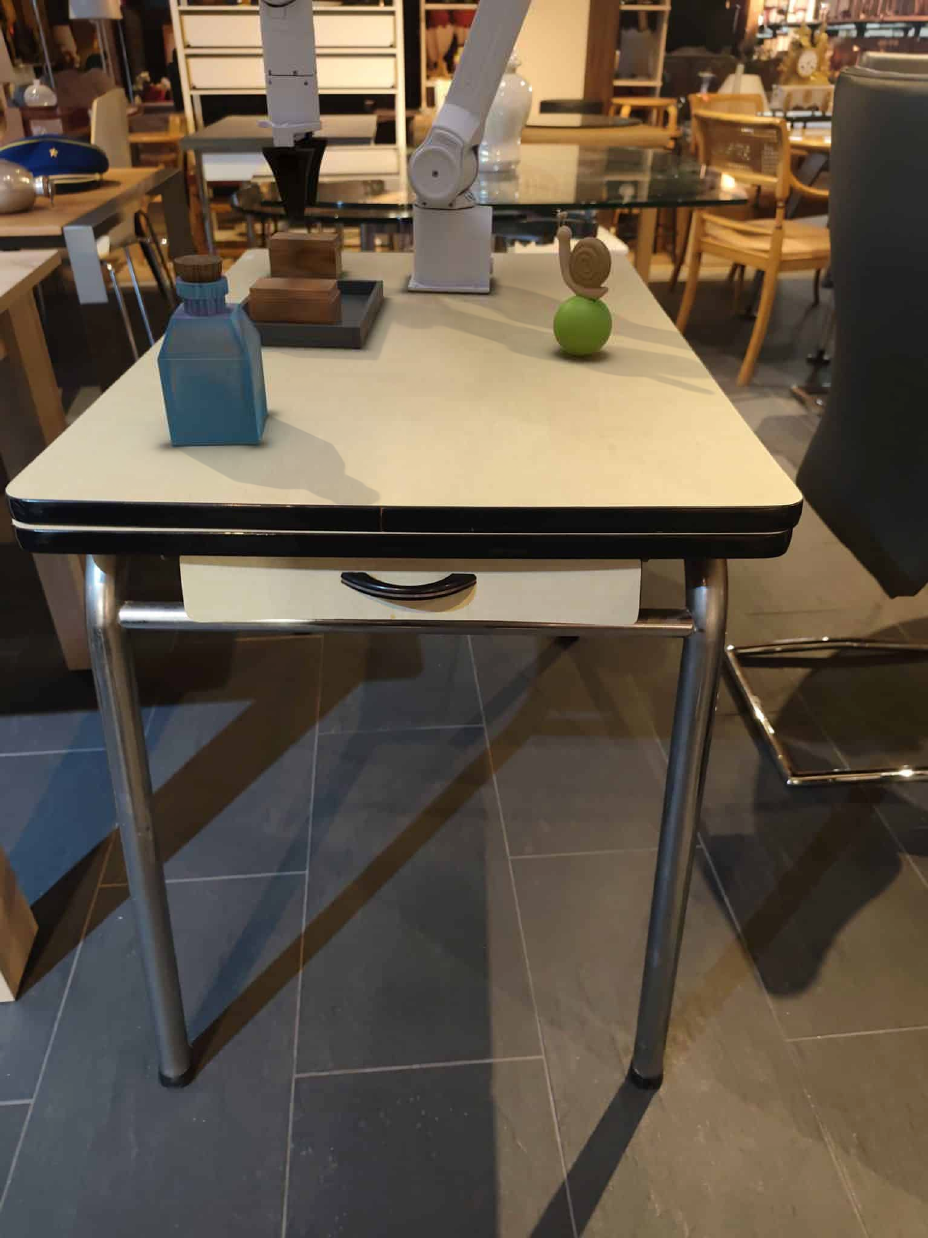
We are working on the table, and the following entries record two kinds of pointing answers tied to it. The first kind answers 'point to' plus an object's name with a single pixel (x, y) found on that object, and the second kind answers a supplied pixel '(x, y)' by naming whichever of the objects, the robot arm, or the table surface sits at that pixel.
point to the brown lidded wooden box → (305, 255)
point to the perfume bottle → (211, 362)
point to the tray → (356, 321)
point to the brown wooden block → (295, 301)
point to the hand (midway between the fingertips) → (301, 209)
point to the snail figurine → (583, 294)
